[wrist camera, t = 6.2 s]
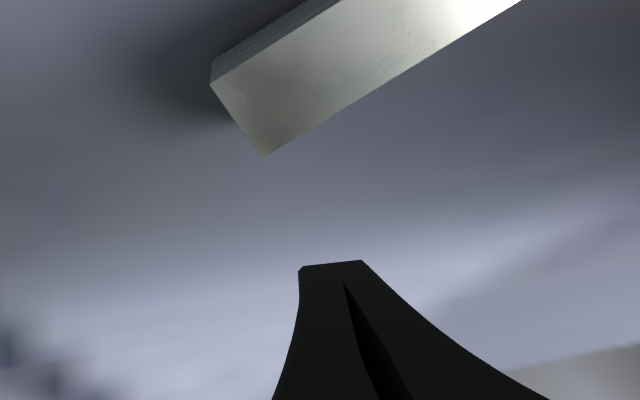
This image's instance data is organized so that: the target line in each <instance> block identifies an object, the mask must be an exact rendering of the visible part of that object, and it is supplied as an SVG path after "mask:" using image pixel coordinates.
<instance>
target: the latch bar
mask: <svg viewBox="0 0 640 400" xmlns="http://www.w3.org/2000/svg"><path fill="white" fill-rule="evenodd" d="M518 1H520V0H306V1H304V2H303V3H301V4H300V5H298V6H297V7H295V8H294V9H292V10H290V11H289V12H287V13H286V14H284V15H283V16H281V17H279V18H278V19H276V20H275V21H273V22H272V23H270V24H269V25H267V26H265V27H264V28H262V29H261V30H259V31H258V32H256V33H255V34H253V35H251V36H250V37H248V38H247V39H245V40H244V41H242V42H240V43H239V44H237V45H236V46H234V47H233V48H231V49H230V50H228V51H226V52H225V53H223V54H222V55H220V56H219V57H217V58H215V59H214V60H212V67H211V75H210V83H209V85H210V86H211V88H212V89H213V91H214V92H215V93H216V95H217V96H218V98H219V99H220V101H221V102H222V103H223V105H224V106H225V108H226V109H227V110H228V112H229V113H230V115H231V116H232V118H233V119H234V120H235V122H236V123H237V125H238V126H239V128H240V129H241V130H242V132H243V133H244V135H245V136H246V138H247V139H248V140H249V142H250V143H251V145H252V146H253V148H254V149H255V150H256V152H257V153H258V155H259V156H260V158H263V157H265V156H266V155H268V154H270V153H271V152H273V151H275V150H276V149H278V148H279V147H281V146H283V145H284V144H286V143H288V142H289V141H291V140H293V139H294V138H296V137H297V136H299V135H301V134H302V133H304V132H306V131H307V130H309V129H311V128H312V127H314V126H315V125H317V124H319V123H320V122H322V121H324V120H325V119H327V118H329V117H330V116H332V115H333V114H335V113H337V112H338V111H340V110H342V109H343V108H345V107H347V106H348V105H350V104H351V103H353V102H355V101H356V100H358V99H360V98H361V97H363V96H365V95H366V94H368V93H369V92H371V91H373V90H374V89H376V88H378V87H379V86H381V85H383V84H384V83H386V82H387V81H389V80H391V79H392V78H394V77H396V76H397V75H399V74H401V73H402V72H404V71H405V70H407V69H409V68H410V67H412V66H414V65H415V64H417V63H419V62H420V61H422V60H423V59H425V58H427V57H428V56H430V55H432V54H433V53H435V52H437V51H438V50H440V49H441V48H443V47H445V46H446V45H448V44H450V43H451V42H453V41H455V40H456V39H458V38H459V37H461V36H463V35H464V34H466V33H468V32H469V31H471V30H473V29H474V28H476V27H477V26H479V25H481V24H482V23H484V22H486V21H487V20H489V19H491V18H492V17H494V16H495V15H497V14H499V13H500V12H502V11H504V10H505V9H507V8H509V7H510V6H512V5H514V4H515V3H517V2H518Z"/></svg>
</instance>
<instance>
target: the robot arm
mask: <svg viewBox="0 0 640 400" xmlns="http://www.w3.org/2000/svg"><path fill="white" fill-rule="evenodd" d="M298 281H299V307H298V312H297V317H296V322H295V328H294V332H293V336H292V340H291V344H290V347H289V350H288V354H287V357H286V361H285V364H284V367H283V370H282V373H281V376H280V379H279V382H278V384H277V387H276V390H275V392H274V395H273V397H272V400H549V399H547V398H546V397H544V396H542V395H540V394H538V393H536V392H534V391H532V390H531V389H529V388H527V387H525V386H523V385H522V384H520V383H518V382H516V381H515V380H513V379H511V378H510V377H508V376H506V375H505V374H503V373H501V372H500V371H498V370H497V369H495V368H493V367H492V366H490V365H489V364H487V363H486V362H484V361H483V360H481V359H479V358H478V357H476V356H475V355H473V354H472V353H470V352H469V351H467V350H466V349H465V348H463V347H462V346H460V345H459V344H457V343H456V342H455V341H453V340H452V339H451V338H450V337H448V336H447V335H446V334H444V333H443V332H442V331H440V330H439V329H438V328H436V327H435V326H434V325H433V324H431V323H430V322H429V321H428V320H427V319H425V318H424V317H423V316H422V315H421V314H420V313H418V312H417V311H416V310H415V309H414V308H413V307H412V306H410V305H409V304H408V303H407V302H406V301H405V300H404V299H402V298H401V297H400V296H399V295H398V294H397V293H396V292H395V291H394V290H393V289H392V288H391V287H389V286H388V285H387V284H386V283H385V282H384V281H383V280H382V279H381V278H380V277H379V276H378V275H377V274H376V273H375V272H374V271H373V270H372V269H371V268H370V267H369V266H368V265H367V264H366V263H364V262H363V261H362V260H354V261H345V262H336V263H327V264H318V265H309V266H303V267H302V268H301V269H300V270H299V271H298Z"/></svg>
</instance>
